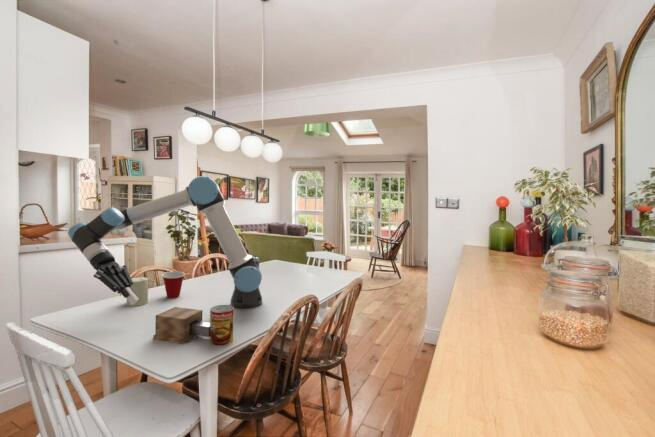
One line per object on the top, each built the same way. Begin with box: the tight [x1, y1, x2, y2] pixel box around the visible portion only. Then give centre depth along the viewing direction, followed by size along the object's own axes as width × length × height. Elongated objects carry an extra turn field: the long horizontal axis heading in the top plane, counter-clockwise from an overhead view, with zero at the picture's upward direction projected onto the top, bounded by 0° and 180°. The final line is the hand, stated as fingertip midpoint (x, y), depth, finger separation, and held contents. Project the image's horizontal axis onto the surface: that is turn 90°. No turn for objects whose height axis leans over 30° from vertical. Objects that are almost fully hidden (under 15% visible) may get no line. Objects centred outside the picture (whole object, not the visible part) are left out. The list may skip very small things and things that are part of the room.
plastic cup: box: [161, 271, 186, 299], centre depth 164 cm, size 11×11×12 cm
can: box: [125, 277, 149, 307], centre depth 152 cm, size 9×9×12 cm
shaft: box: [189, 321, 210, 338], centre depth 116 cm, size 21×5×5 cm, turn 76°
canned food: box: [209, 304, 235, 347], centre depth 112 cm, size 8×8×12 cm
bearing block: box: [152, 306, 203, 345], centre depth 117 cm, size 13×11×8 cm
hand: (135, 302), depth 121 cm, fingers closed
